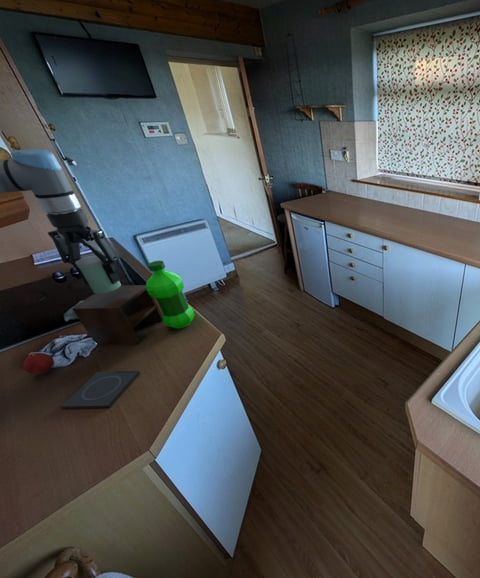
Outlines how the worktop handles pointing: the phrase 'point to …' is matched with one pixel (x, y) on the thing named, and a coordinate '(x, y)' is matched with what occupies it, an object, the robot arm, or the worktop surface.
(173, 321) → the plastic bottle
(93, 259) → the jar
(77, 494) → the worktop surface
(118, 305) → the shelf rack
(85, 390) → the hob
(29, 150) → the robot arm
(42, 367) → the red rounded lump
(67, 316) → the packaged food
